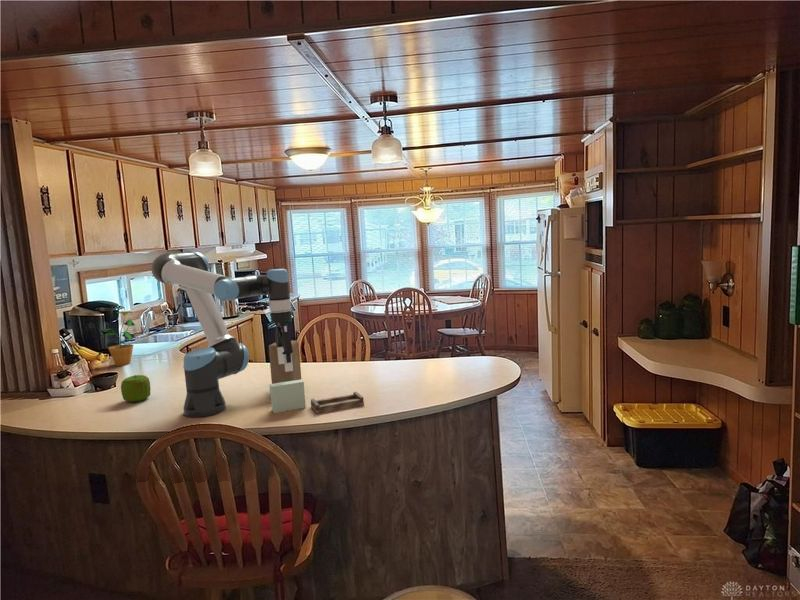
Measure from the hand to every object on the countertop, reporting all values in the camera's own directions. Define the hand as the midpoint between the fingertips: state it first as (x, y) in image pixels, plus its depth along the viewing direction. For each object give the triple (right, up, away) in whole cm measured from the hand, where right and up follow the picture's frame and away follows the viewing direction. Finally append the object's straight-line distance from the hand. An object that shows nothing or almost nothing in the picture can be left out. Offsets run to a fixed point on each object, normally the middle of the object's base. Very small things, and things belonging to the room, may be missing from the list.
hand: (285, 367), depth 197 cm
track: (+19, -15, +2) cm, 24 cm away
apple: (-67, -17, +24) cm, 74 cm away
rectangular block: (+1, -16, +2) cm, 16 cm away
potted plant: (-111, -11, +96) cm, 147 cm away
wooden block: (-6, -13, +30) cm, 33 cm away
